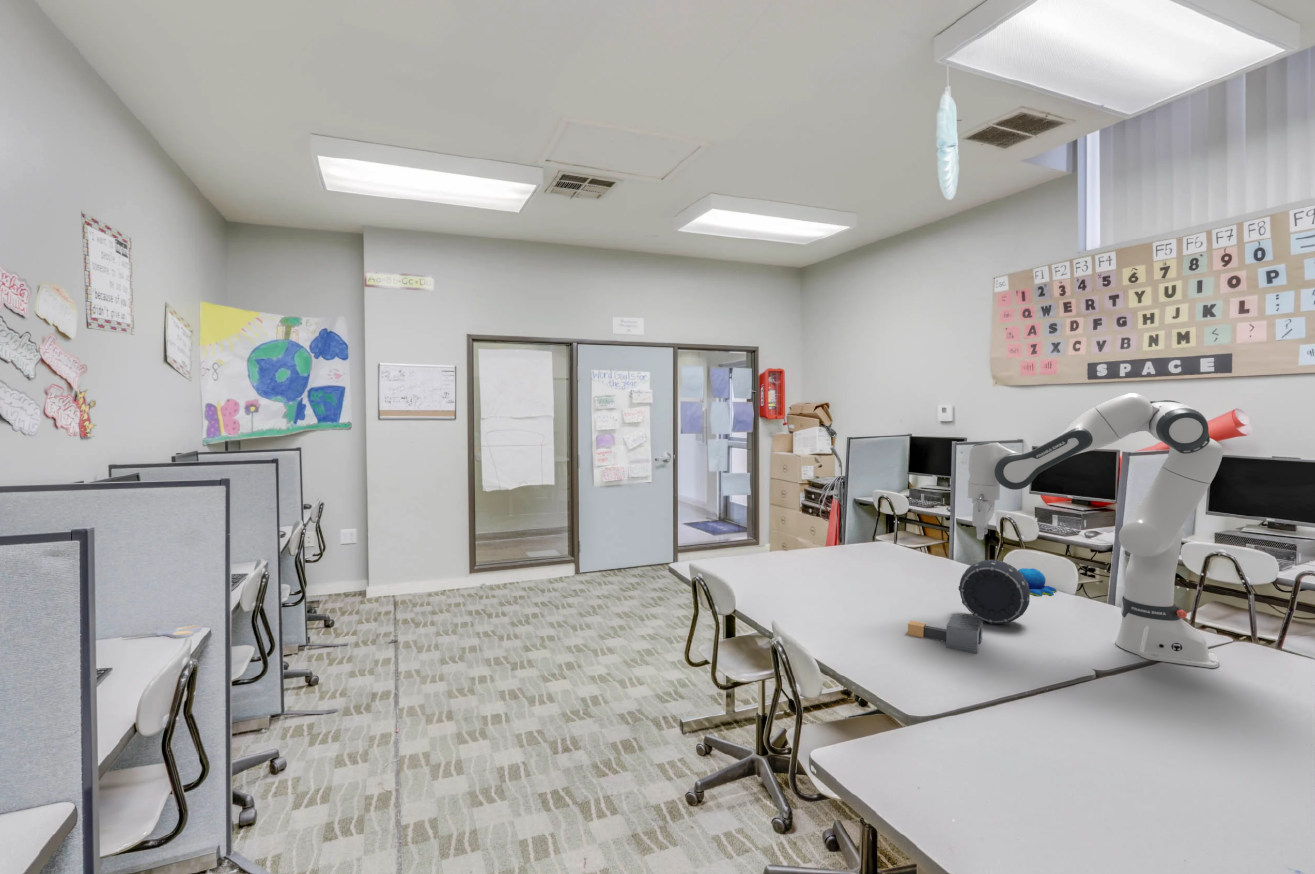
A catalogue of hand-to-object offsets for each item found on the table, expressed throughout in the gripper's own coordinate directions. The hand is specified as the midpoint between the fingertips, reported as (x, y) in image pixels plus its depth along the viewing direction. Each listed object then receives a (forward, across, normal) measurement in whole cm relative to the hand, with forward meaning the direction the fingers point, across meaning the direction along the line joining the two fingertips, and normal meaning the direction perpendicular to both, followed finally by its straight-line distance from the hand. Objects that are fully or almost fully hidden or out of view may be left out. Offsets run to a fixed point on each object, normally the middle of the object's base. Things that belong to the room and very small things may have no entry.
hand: (982, 536), depth 190 cm
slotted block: (+29, -18, +2) cm, 34 cm away
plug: (+29, -18, +8) cm, 35 cm away
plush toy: (+30, +56, -11) cm, 64 cm away
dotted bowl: (+29, +8, -3) cm, 31 cm away
